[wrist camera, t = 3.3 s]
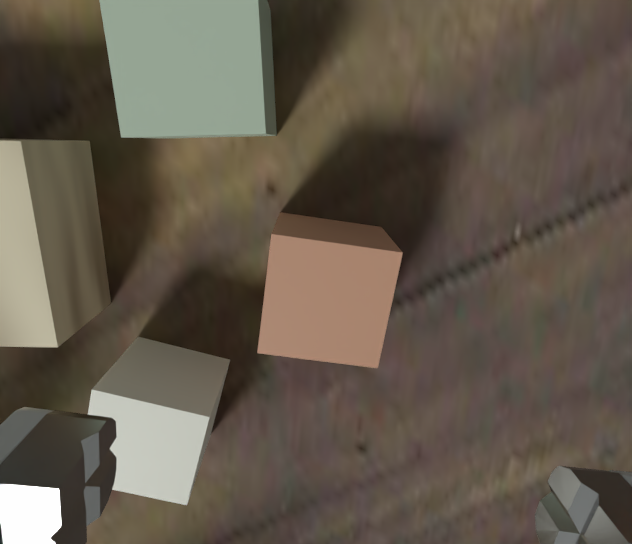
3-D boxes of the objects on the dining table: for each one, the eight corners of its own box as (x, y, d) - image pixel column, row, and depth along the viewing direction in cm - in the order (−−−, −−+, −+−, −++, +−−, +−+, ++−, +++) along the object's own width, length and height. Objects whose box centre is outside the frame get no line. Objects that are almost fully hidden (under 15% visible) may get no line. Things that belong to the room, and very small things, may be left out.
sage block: (270, 11, 18) (256, -37, 13) (276, 135, 19) (265, 133, 14) (152, 14, 18) (94, -33, 13) (168, 138, 19) (121, 137, 14)
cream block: (230, 358, 23) (209, 417, 18) (211, 433, 24) (186, 505, 19) (138, 335, 22) (91, 389, 17) (124, 412, 24) (77, 481, 19)
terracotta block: (381, 226, 21) (402, 252, 16) (362, 318, 22) (377, 368, 17) (280, 211, 20) (271, 233, 15) (268, 306, 22) (257, 353, 17)
